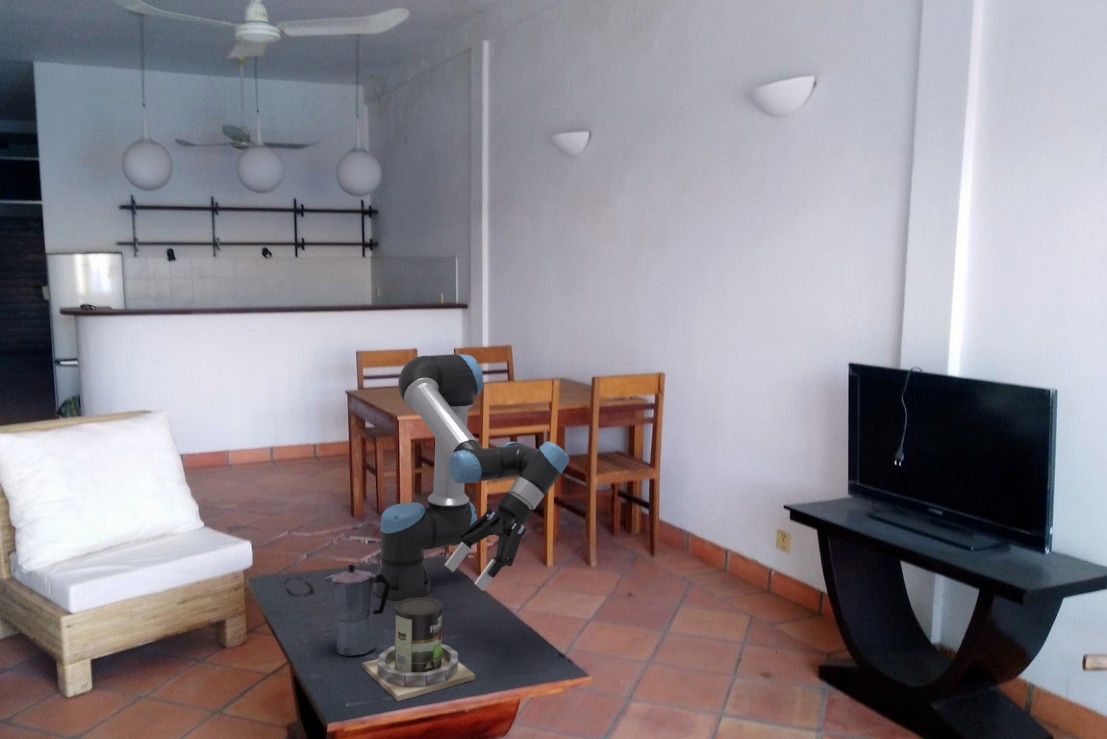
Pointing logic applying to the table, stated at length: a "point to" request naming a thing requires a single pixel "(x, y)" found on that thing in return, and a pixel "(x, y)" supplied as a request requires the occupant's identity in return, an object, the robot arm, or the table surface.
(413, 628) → the coffee can
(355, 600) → the moka pot
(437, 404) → the robot arm
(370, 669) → the ring board
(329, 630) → the table surface
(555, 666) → the table surface
